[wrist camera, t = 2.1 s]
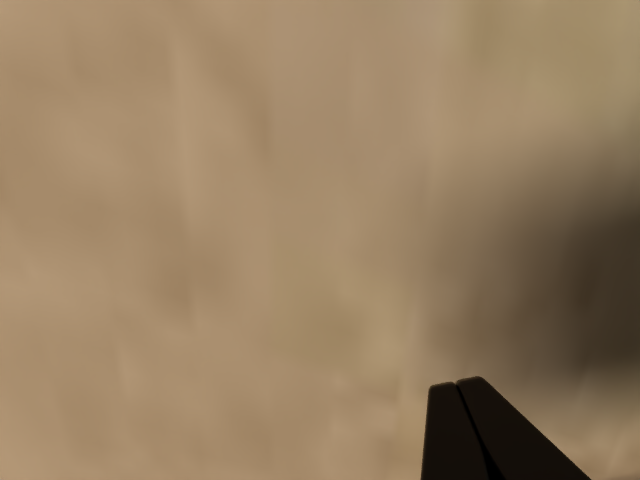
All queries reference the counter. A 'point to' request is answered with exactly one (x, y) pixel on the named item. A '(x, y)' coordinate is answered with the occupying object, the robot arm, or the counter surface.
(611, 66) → the counter surface
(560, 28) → the counter surface
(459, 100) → the counter surface
